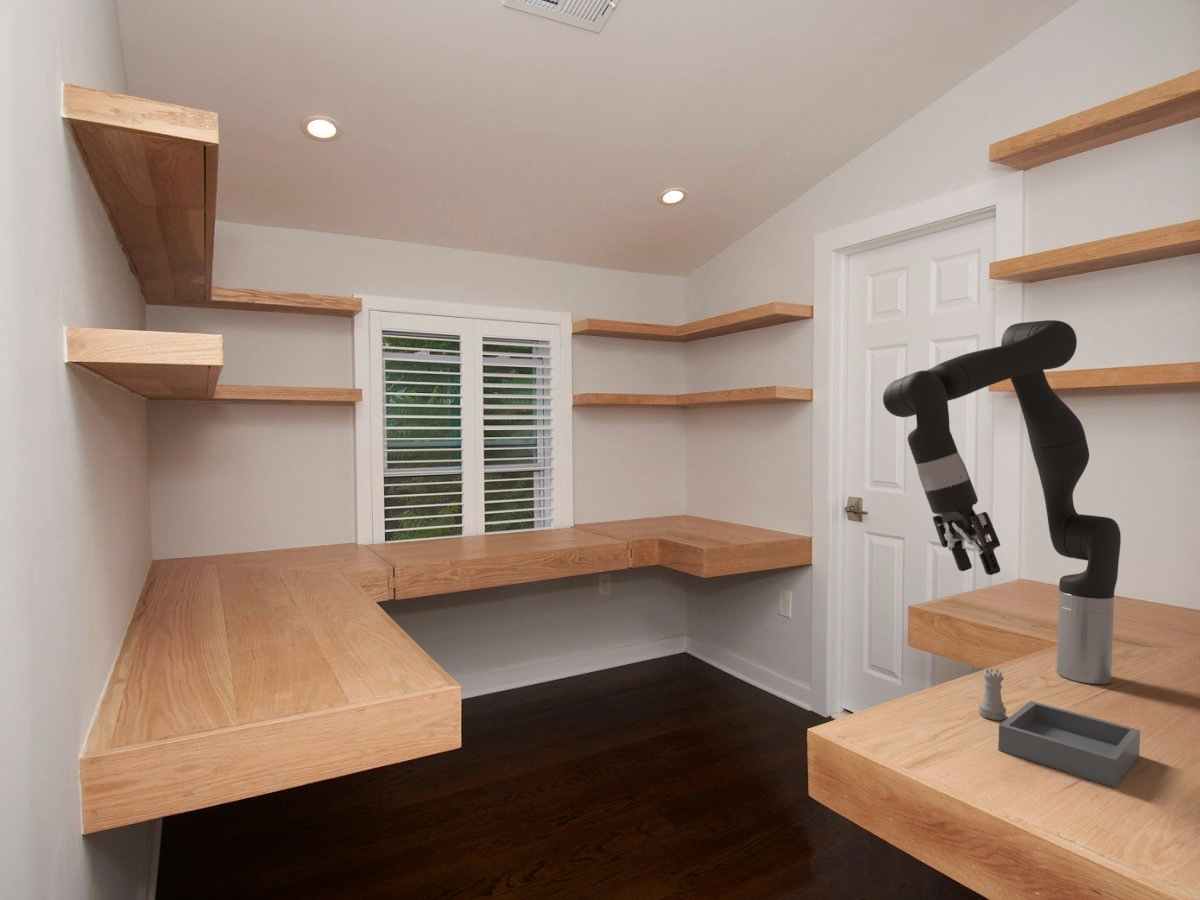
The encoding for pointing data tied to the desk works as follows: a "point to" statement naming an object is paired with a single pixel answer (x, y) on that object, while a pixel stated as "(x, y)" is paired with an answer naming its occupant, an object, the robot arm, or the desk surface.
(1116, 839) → the desk surface
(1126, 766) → the tray
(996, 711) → the rook chess piece
